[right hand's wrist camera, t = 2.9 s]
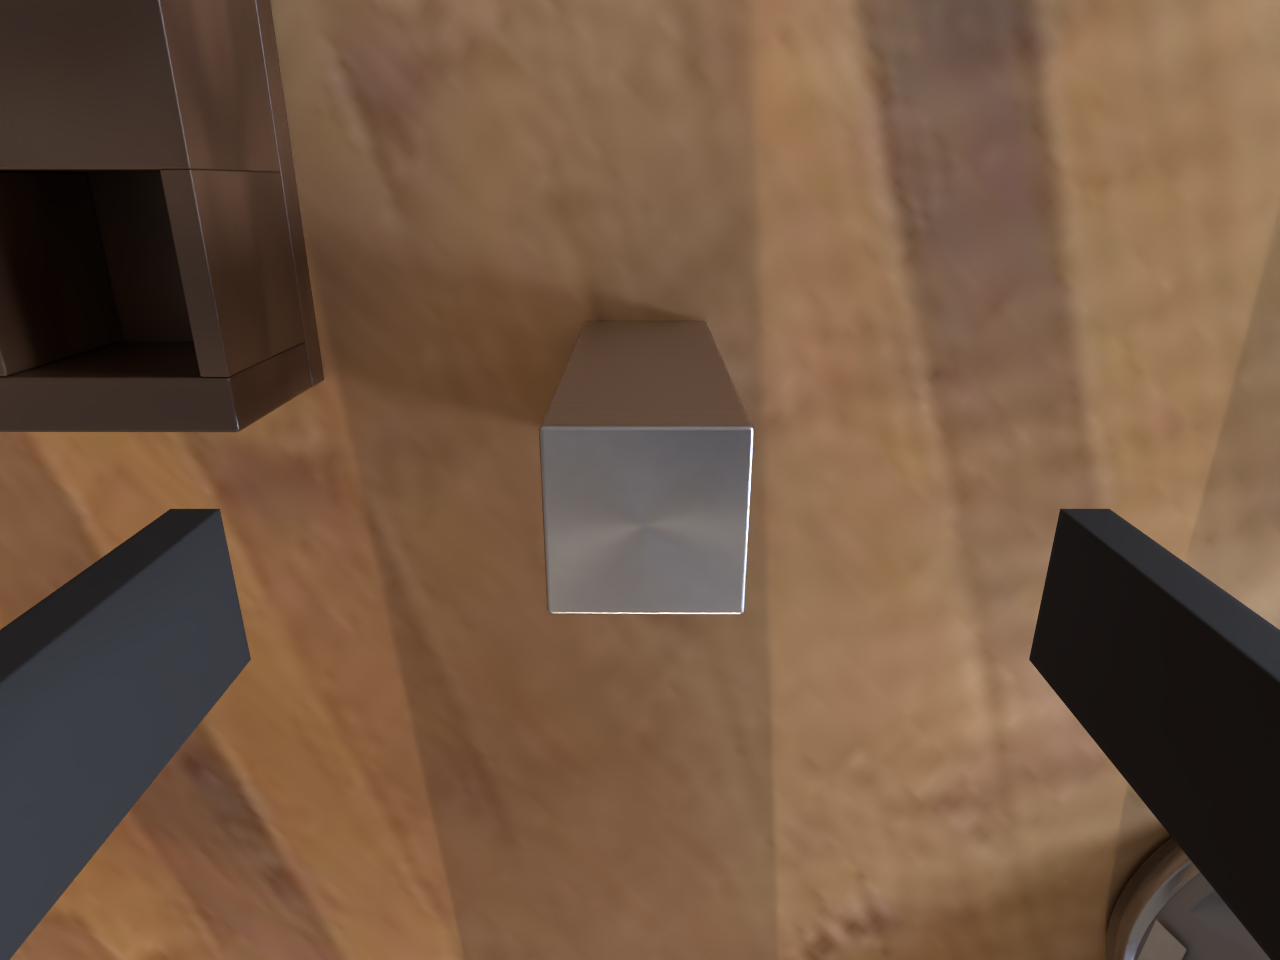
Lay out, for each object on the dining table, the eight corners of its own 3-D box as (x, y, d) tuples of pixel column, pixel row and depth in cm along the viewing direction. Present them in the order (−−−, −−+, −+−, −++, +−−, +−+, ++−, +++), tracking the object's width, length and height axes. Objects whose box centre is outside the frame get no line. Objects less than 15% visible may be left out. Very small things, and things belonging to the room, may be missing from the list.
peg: (706, 320, 26) (754, 426, 15) (703, 437, 27) (744, 616, 16) (583, 320, 26) (538, 425, 15) (586, 437, 27) (547, 615, 16)
